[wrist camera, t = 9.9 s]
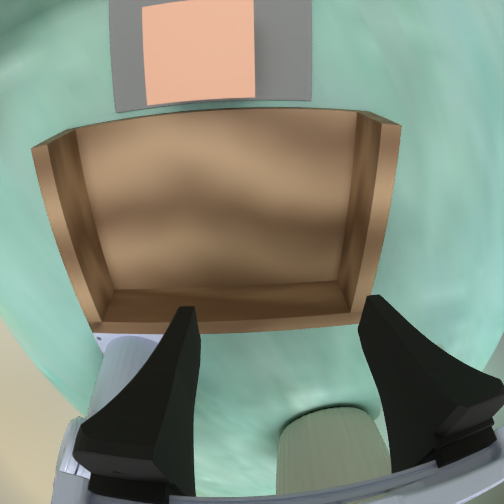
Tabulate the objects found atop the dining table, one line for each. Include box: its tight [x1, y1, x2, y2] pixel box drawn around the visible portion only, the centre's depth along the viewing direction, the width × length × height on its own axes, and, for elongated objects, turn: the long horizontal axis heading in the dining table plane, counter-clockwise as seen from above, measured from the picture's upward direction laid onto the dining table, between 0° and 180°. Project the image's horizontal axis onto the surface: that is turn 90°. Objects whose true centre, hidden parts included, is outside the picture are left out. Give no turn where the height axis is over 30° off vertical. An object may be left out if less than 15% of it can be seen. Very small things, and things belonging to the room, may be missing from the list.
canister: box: [276, 407, 392, 504], centre depth 31 cm, size 18×18×21 cm
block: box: [142, 0, 255, 106], centre depth 13 cm, size 4×4×6 cm
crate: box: [31, 107, 402, 334], centre depth 20 cm, size 14×20×4 cm
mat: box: [109, 0, 312, 113], centre depth 15 cm, size 10×12×1 cm
